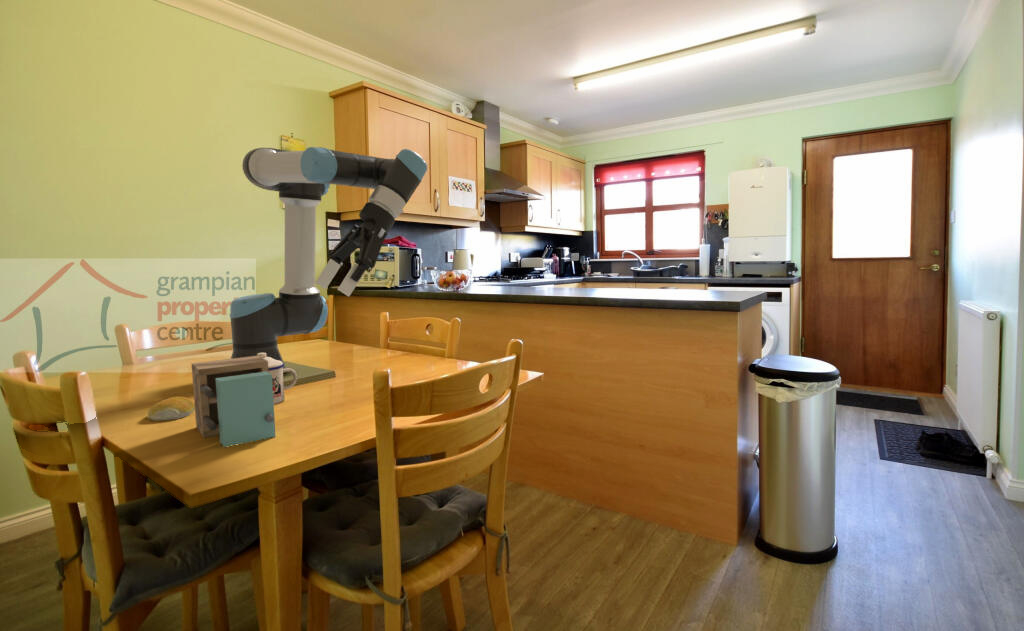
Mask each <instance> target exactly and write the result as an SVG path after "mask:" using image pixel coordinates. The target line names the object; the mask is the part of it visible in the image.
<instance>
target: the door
mask: <svg viewBox="0 0 1024 631" xmlns="http://www.w3.org/2000/svg"><path fill="white" fill-rule="evenodd" d="M215 380H216V394H217V407H218V421H219V434H220V435H219V443H220V444H222V445H223V446H224V447H227V446H231V445H236V444H241V443H246V442H250V443H252V442H251V441H255V442H257V441H256V440H260V441H262V440H261V439H264V440H267V439H266V438H269V439H271V438H270V437H274V438H276V436H277V435H276V422H275V420H276V419H275V407H274V406H275V404H274V403H273V386H272V374H270V373H268V372H267V371H266V372H259V373H251V374H244V375H237V376H229V377H222V378H215ZM246 444H247V443H246ZM222 445H221V446H222ZM241 445H242V444H241ZM223 446H222V447H223ZM236 446H237V445H236ZM224 447H223V448H224ZM227 448H228V447H227Z"/></svg>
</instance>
